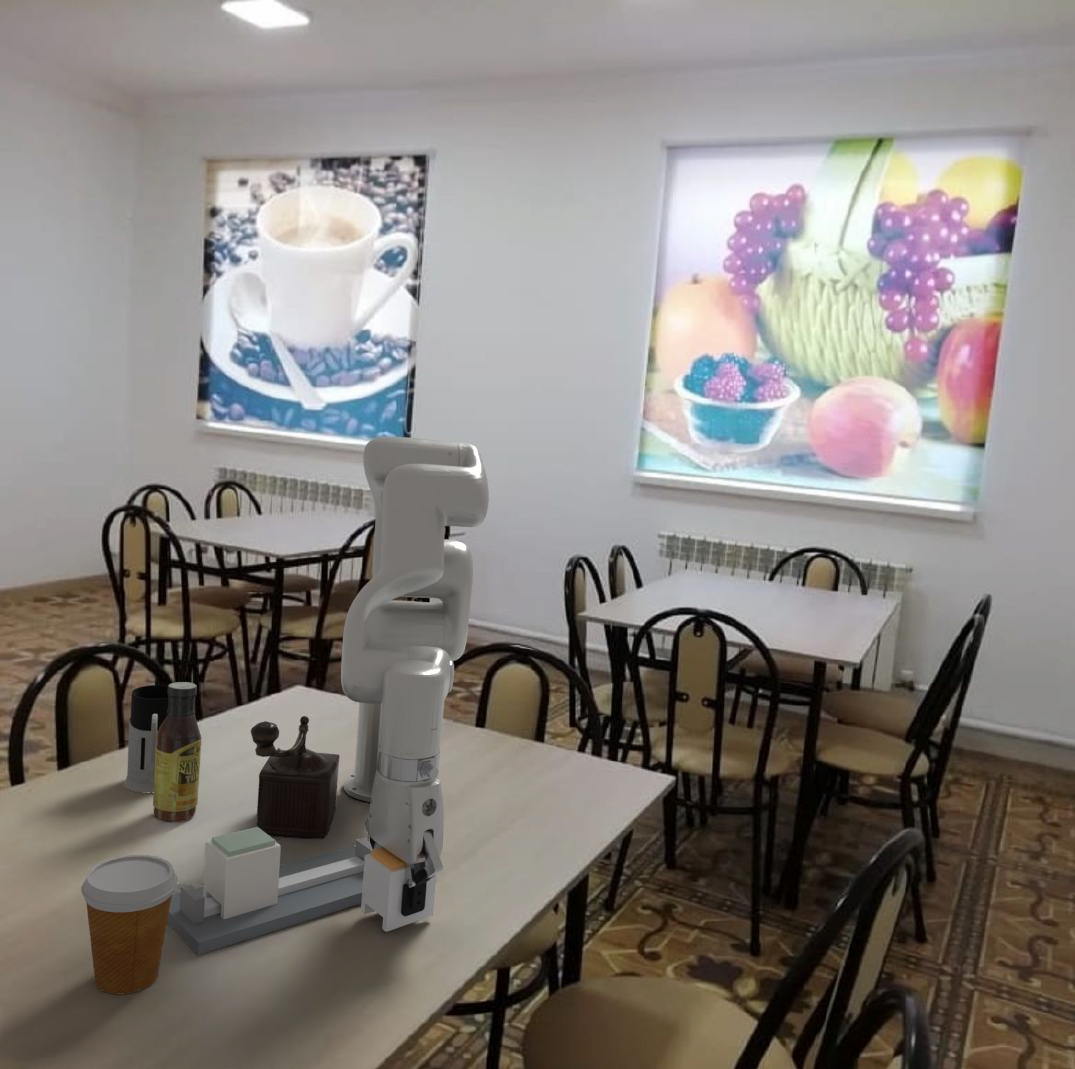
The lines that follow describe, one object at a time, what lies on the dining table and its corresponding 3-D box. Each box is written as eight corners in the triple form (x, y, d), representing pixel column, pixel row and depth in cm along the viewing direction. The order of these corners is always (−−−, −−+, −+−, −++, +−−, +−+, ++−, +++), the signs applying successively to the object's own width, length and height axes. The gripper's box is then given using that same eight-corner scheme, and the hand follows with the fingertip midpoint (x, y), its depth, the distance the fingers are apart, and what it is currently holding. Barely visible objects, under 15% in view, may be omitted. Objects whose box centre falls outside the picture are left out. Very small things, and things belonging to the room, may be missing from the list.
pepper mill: (265, 806, 156) (271, 693, 154) (337, 811, 157) (344, 698, 154) (240, 850, 141) (246, 726, 138) (320, 855, 141) (328, 731, 139)
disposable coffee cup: (96, 952, 113) (99, 851, 112) (183, 955, 114) (188, 854, 113) (64, 1002, 104) (67, 892, 102) (159, 1005, 105) (164, 896, 103)
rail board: (353, 855, 142) (357, 790, 141) (402, 890, 133) (407, 821, 132) (155, 910, 123) (158, 835, 122) (198, 955, 114) (201, 875, 113)
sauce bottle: (182, 827, 146) (188, 694, 144) (143, 820, 147) (148, 688, 145) (206, 810, 153) (212, 683, 150) (168, 803, 154) (174, 677, 151)
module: (407, 896, 130) (411, 837, 129) (432, 915, 126) (438, 854, 125) (360, 911, 126) (365, 850, 124) (386, 932, 122) (390, 868, 120)
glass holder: (182, 771, 167) (186, 683, 165) (181, 806, 153) (185, 710, 151) (125, 773, 164) (129, 683, 162) (119, 808, 150) (122, 711, 149)
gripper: (476, 781, 119) (464, 923, 122) (393, 736, 132) (384, 866, 134) (425, 794, 114) (413, 942, 117) (344, 746, 127) (335, 881, 129)
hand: (398, 900), depth 126 cm, fingers closed on module, 5 cm apart
